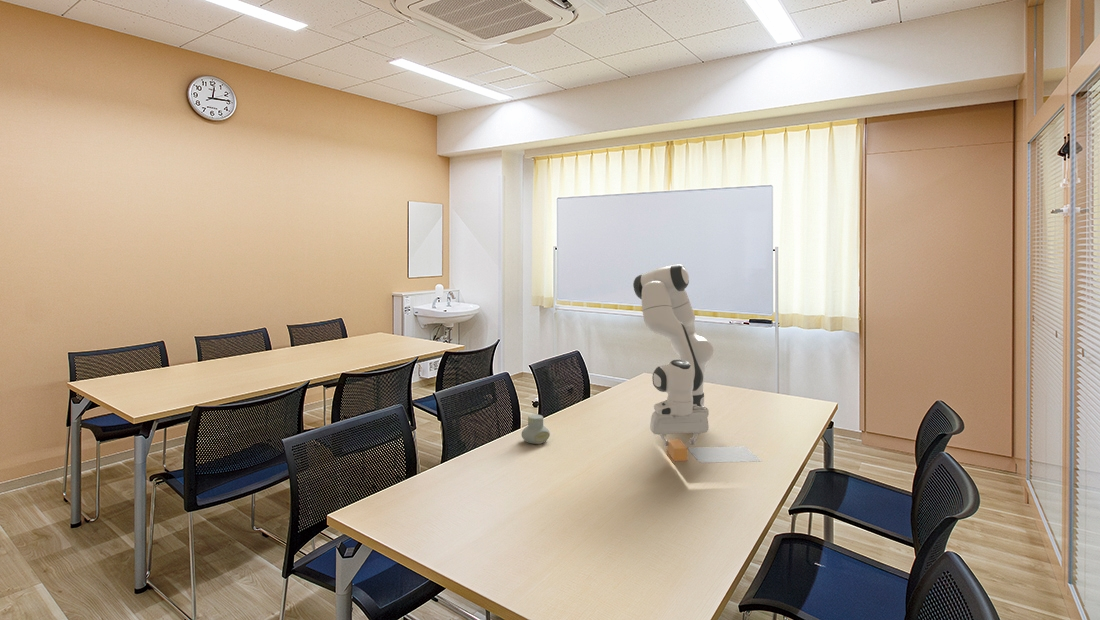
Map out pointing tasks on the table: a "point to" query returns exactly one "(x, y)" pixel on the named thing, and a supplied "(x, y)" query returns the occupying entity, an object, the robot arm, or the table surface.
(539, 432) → the air freshener
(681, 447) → the block
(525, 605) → the table surface
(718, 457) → the board
